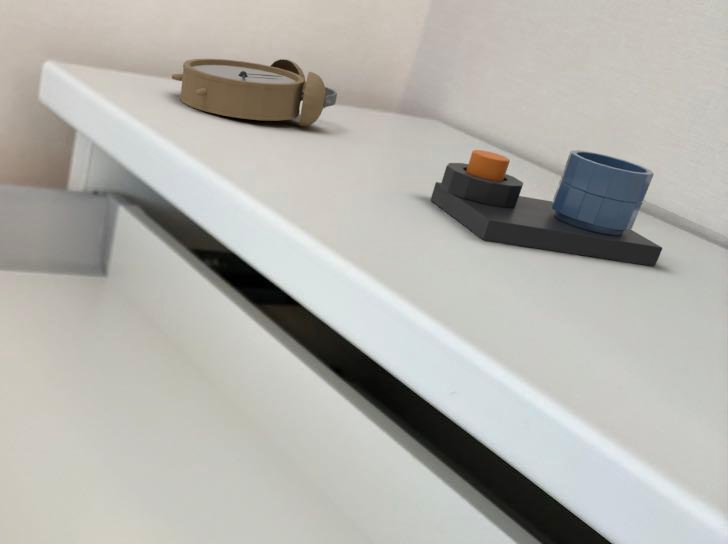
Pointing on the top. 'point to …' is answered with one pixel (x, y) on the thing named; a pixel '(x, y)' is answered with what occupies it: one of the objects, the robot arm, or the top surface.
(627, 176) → the cup
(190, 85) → the alarm clock
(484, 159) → the button
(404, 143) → the top surface
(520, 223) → the scale
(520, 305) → the top surface
